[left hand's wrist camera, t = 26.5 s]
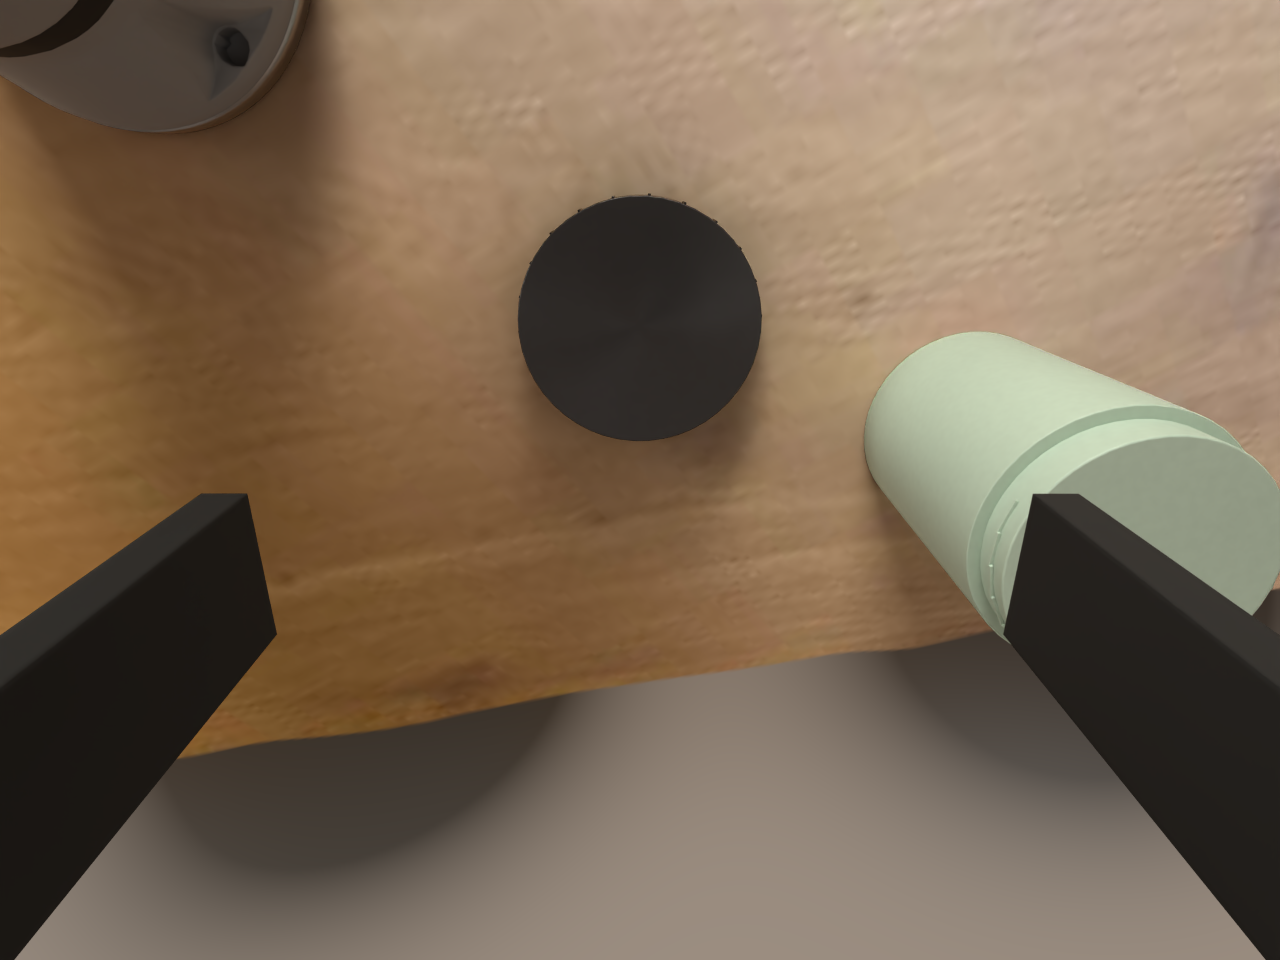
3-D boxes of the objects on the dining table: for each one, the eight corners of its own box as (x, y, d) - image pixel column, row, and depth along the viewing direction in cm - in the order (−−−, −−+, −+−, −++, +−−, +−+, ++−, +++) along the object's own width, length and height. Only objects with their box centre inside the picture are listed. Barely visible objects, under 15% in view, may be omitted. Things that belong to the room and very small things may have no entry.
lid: (735, 168, 34) (740, 167, 32) (771, 405, 38) (778, 417, 36) (495, 222, 35) (487, 225, 33) (556, 449, 39) (552, 463, 37)
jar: (872, 534, 41) (993, 714, 27) (854, 354, 37) (982, 455, 23) (1062, 499, 40) (1286, 666, 26) (1062, 312, 37) (1323, 391, 23)
